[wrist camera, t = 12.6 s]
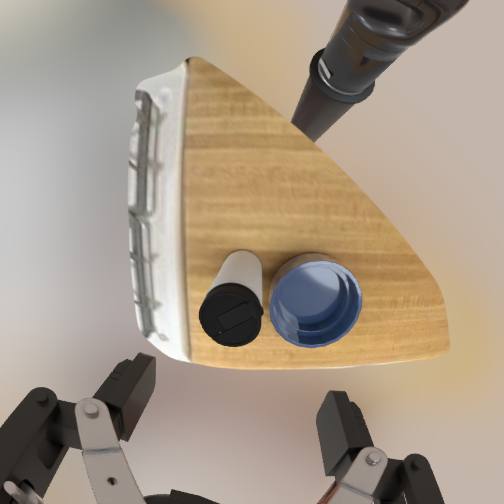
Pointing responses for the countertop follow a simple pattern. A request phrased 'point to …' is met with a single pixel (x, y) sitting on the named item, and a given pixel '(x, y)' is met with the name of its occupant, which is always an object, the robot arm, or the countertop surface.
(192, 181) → the countertop surface
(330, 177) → the countertop surface
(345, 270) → the bowl
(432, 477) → the robot arm
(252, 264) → the travel mug
